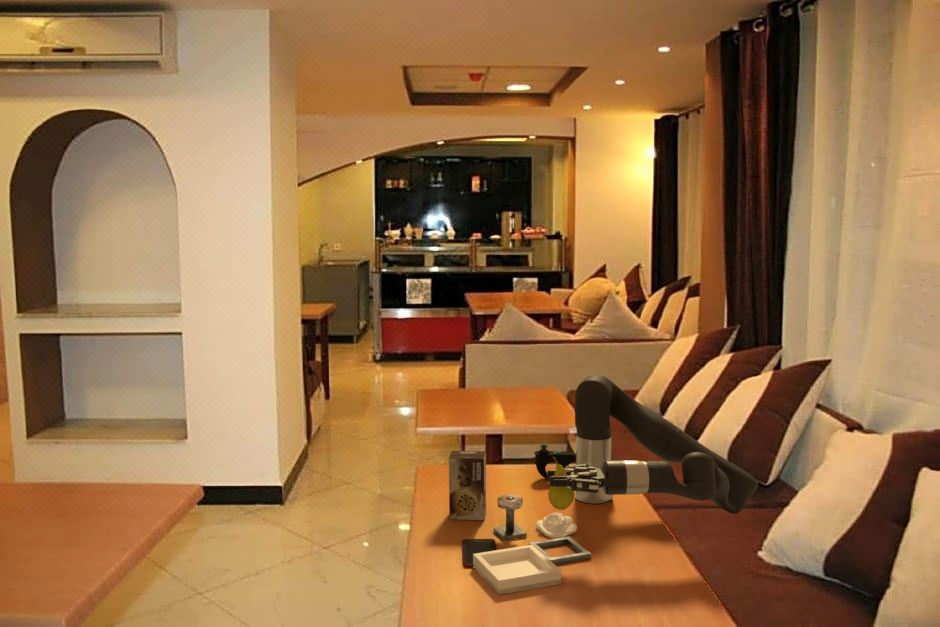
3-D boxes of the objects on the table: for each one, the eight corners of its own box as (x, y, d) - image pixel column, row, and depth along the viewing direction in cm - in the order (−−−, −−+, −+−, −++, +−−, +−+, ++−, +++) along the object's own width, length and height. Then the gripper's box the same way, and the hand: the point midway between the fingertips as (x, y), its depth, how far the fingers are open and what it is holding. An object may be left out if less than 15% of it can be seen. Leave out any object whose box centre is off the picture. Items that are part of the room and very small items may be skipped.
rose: (581, 510, 203) (572, 524, 194) (580, 527, 204) (572, 542, 195) (541, 505, 207) (531, 518, 197) (541, 522, 207) (530, 536, 198)
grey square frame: (569, 541, 194) (569, 536, 194) (591, 558, 185) (591, 553, 185) (528, 547, 191) (528, 542, 191) (549, 565, 181) (549, 560, 181)
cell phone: (495, 542, 195) (495, 538, 194) (498, 569, 180) (498, 565, 180) (462, 542, 194) (462, 538, 194) (463, 569, 180) (463, 565, 180)
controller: (533, 476, 242) (533, 443, 240) (575, 476, 242) (576, 443, 240) (534, 481, 237) (534, 447, 236) (577, 481, 237) (578, 447, 236)
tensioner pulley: (516, 528, 202) (516, 492, 201) (526, 537, 197) (527, 500, 196) (493, 531, 200) (493, 495, 199) (503, 540, 195) (503, 503, 194)
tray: (531, 557, 185) (531, 544, 185) (560, 583, 172) (560, 569, 172) (473, 567, 180) (473, 553, 180) (498, 594, 167) (498, 580, 167)
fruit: (577, 512, 184) (578, 460, 182) (552, 514, 183) (552, 461, 181) (569, 503, 190) (569, 452, 188) (544, 505, 188) (545, 454, 187)
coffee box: (486, 511, 213) (487, 450, 211) (484, 521, 207) (485, 458, 205) (451, 510, 214) (451, 449, 212) (448, 519, 208) (448, 457, 206)
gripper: (631, 504, 179) (552, 505, 179) (618, 483, 193) (544, 484, 193) (632, 470, 178) (552, 471, 178) (619, 451, 192) (545, 452, 192)
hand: (548, 478), depth 185 cm, fingers closed on fruit, 3 cm apart
